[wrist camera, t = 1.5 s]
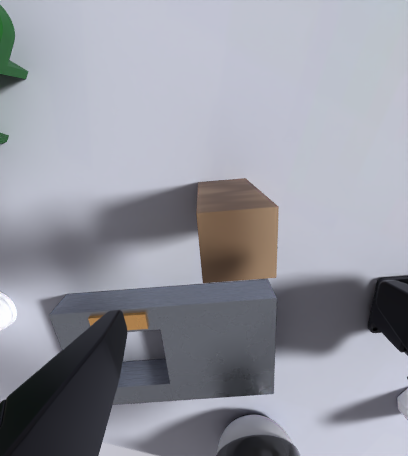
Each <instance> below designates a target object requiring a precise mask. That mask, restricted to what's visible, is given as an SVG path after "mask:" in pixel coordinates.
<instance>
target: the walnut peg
mask: <svg viewBox="0 0 408 456" xmlns="http://www.w3.org/2000/svg"><path fill="white" fill-rule="evenodd" d="M196 215H197V225H198V236H199V247H200V257H201V268H202V278H203V283H212V282H226V281H239V280H252V279H265V278H276V269H277V238H278V206H277V205H276V204H275V203H274V202H272V201H271V200H270V199H269V198H268V197H267V196H265V195H264V194H263V193H262V192H261V191H260V190H258V189H257V188H256V187H255V186H254V185H253V184H251V183H250V182H249V181H248V180H247V179H246V178H244V179H232V180H219V181H207V182H198V193H197V211H196Z"/></svg>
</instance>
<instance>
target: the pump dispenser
mask: <svg viewBox="0 0 408 456" xmlns="http://www.w3.org/2000/svg"><path fill="white" fill-rule="evenodd" d="M216 456H300V454H299V451H298V450H297V448H296V447H295V446H294V445H293V443H292V441H291V440H290V438H289V436H288V435H287V433H286V432H285V431H284V430H283V428H282V427H281V426H280V425H279V424H277V423H276V422H275V421H273V420H272V419H270V418H268V417H265V416H261V415H246V416H242V417H240V418H237V419H236V420H234V421H233V422H231V423H230V424H229V425H228V426H227V427H226V429H225V430H224V432H223V434H222V436H221V438H220V441H219V444H218V449H217V454H216Z"/></svg>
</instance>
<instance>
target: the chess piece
mask: <svg viewBox="0 0 408 456" xmlns="http://www.w3.org/2000/svg"><path fill="white" fill-rule="evenodd" d="M16 317H17V310H16V307H15V305H14V303H13V302H12V300H11V299H10V298H9V297H8V296H6V295H5V294H3V293H2V292H0V330H3V329H5V328H7V327H8V326H9V325H11V324H12V323H13V322H14V321H15V319H16Z"/></svg>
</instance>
